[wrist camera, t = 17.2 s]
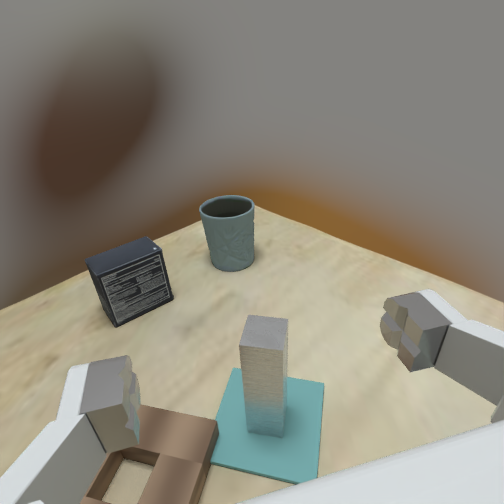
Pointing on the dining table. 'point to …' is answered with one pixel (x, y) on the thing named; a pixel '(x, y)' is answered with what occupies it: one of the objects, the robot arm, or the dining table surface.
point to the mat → (267, 447)
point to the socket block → (164, 457)
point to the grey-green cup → (229, 231)
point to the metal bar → (265, 374)
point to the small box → (130, 280)
